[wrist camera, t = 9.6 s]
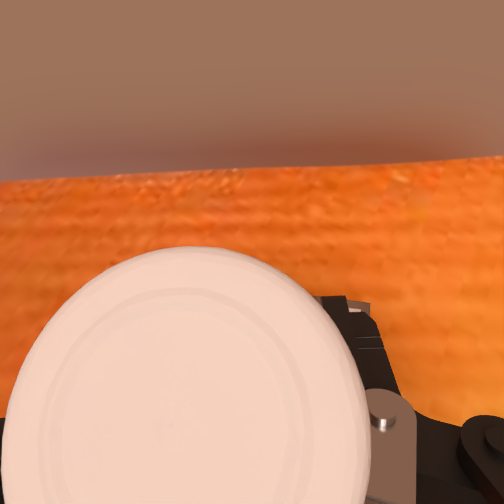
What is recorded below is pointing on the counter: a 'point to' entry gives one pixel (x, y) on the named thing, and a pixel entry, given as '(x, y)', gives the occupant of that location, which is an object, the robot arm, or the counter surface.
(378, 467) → the robot arm
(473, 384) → the counter surface
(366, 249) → the counter surface
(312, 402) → the sprinkles bottle
